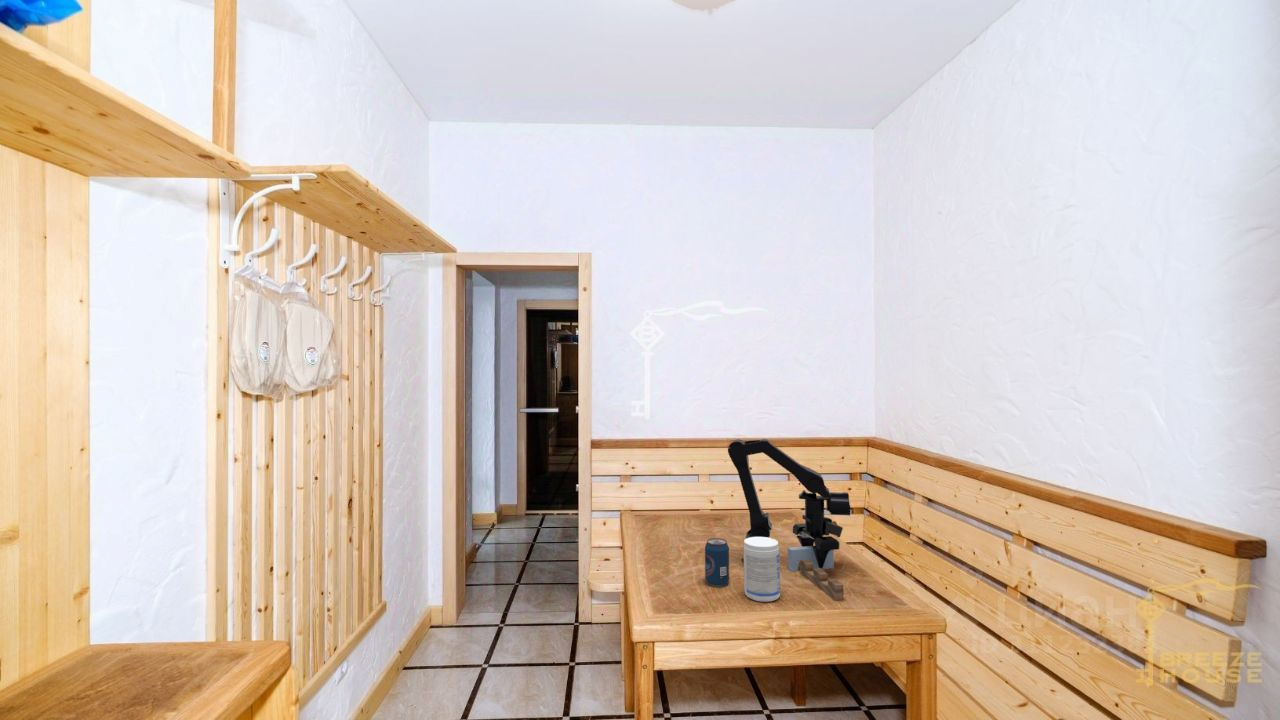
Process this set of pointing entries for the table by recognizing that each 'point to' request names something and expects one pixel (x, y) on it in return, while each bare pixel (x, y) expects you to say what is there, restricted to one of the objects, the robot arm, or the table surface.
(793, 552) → the light blue slab
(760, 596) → the supplement tub
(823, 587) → the notched rail
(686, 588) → the table surface
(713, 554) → the soda can
